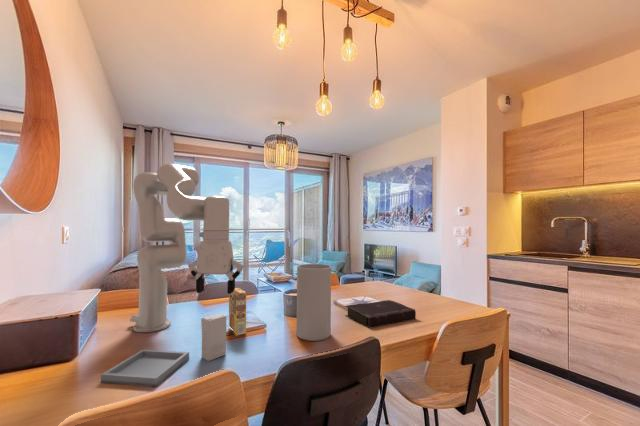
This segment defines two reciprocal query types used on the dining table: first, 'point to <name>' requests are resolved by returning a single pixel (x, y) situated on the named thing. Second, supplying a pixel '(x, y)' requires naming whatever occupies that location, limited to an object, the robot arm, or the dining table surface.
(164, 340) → the dining table surface
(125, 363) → the tray
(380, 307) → the diary
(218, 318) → the skincare box
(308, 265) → the cylinder vase
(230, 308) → the candy box
